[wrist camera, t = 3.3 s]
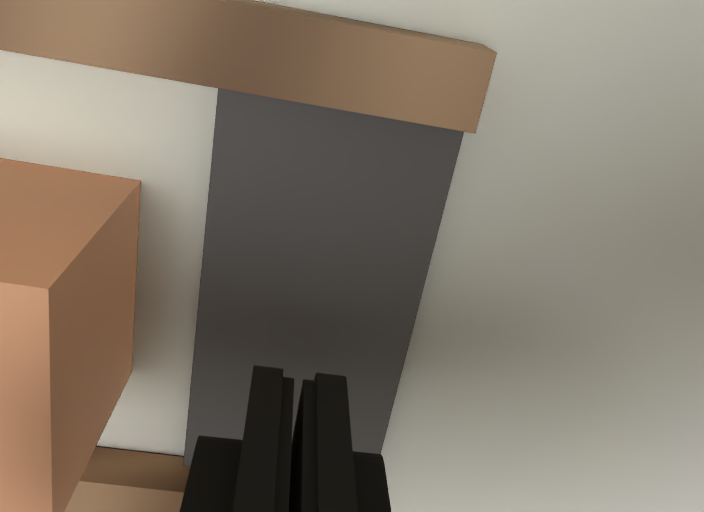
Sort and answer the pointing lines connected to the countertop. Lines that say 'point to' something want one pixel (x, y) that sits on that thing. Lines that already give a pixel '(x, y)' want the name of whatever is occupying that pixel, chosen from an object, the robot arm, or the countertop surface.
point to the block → (61, 323)
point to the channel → (286, 198)
